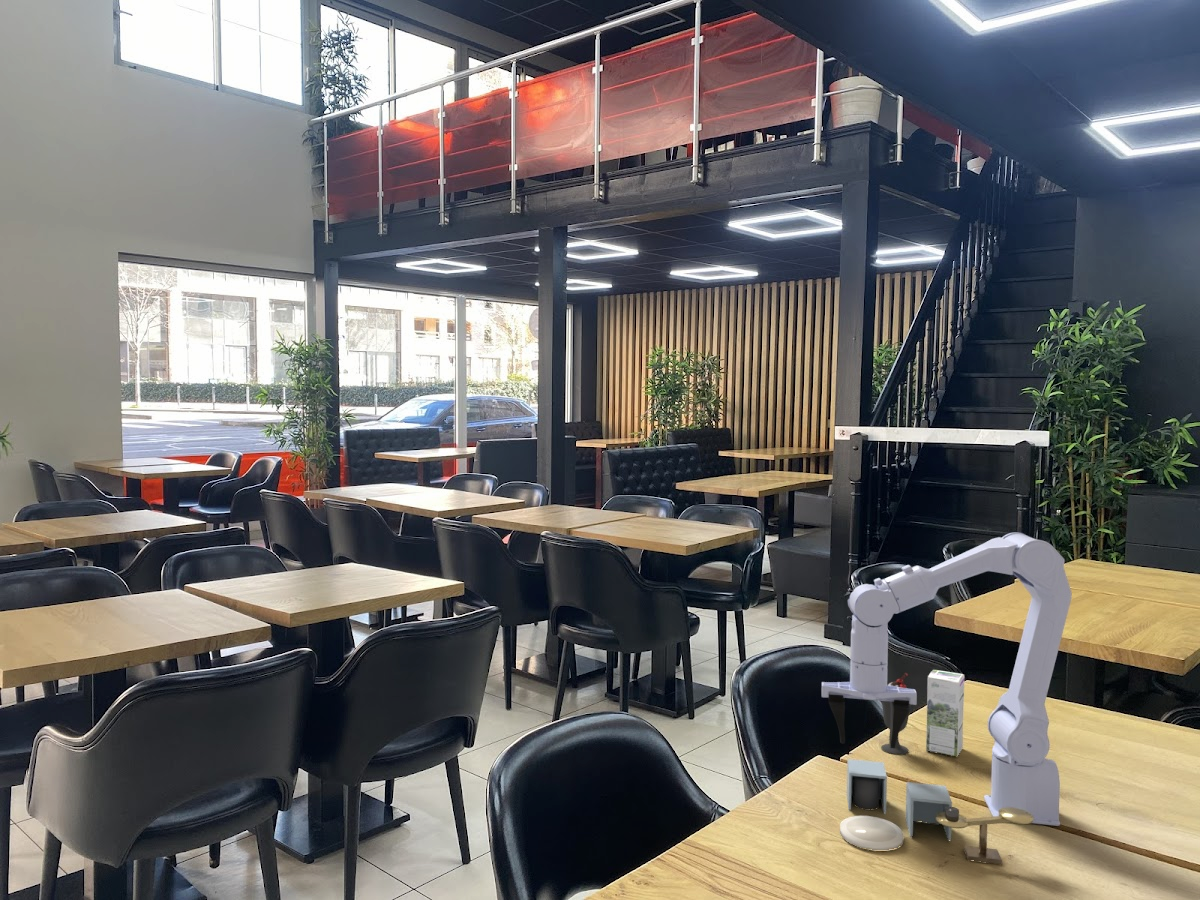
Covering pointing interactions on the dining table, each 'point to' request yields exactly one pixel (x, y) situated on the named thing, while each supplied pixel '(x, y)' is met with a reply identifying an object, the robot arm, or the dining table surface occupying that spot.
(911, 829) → the cover
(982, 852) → the balance
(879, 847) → the dish
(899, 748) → the sundae
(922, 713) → the dining table surface
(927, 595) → the robot arm
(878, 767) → the cover
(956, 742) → the syrup box
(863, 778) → the dark grey cylinder
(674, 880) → the dining table surface
